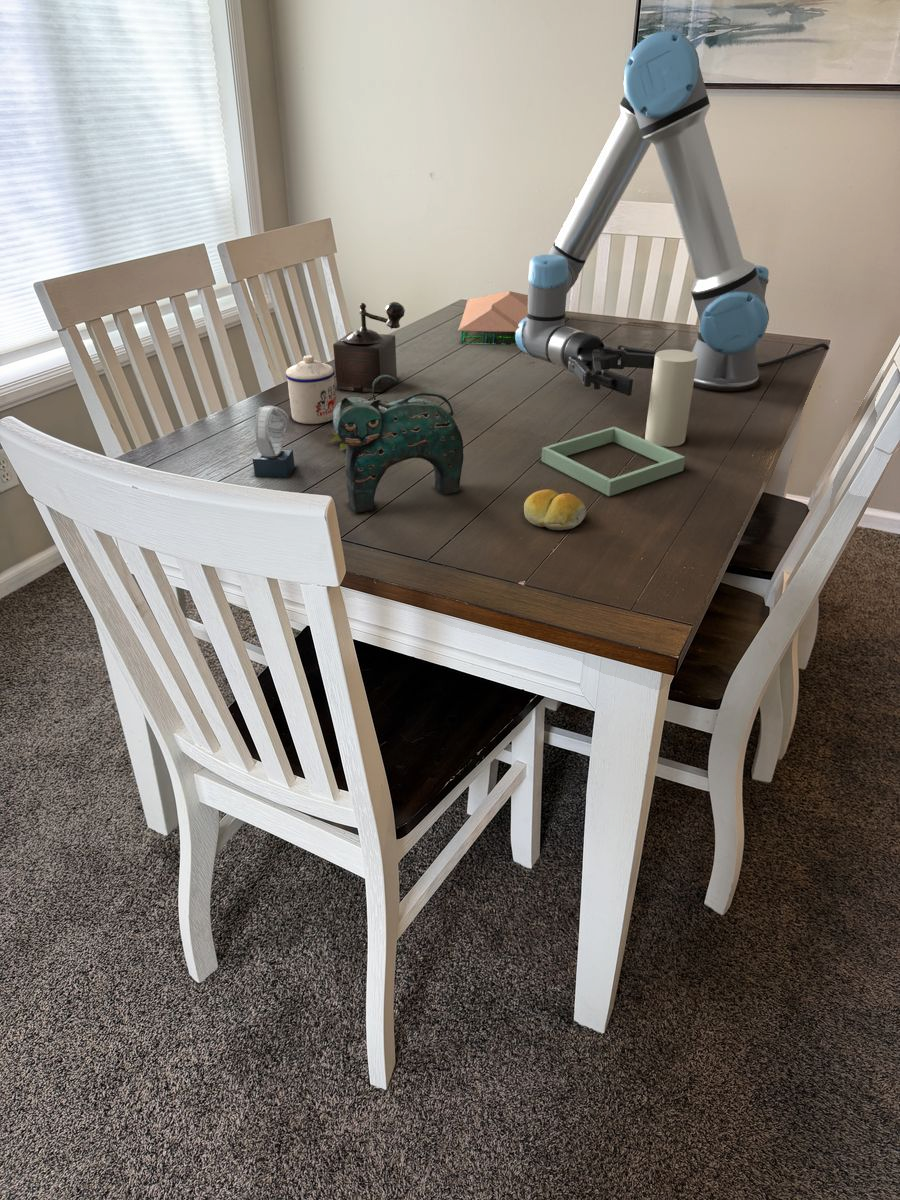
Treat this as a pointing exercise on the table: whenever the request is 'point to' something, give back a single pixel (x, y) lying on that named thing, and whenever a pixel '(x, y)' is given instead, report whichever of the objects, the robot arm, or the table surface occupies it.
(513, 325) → the house
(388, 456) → the ceramic cat
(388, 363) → the manual coffee grinder
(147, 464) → the table surface
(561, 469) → the green square frame
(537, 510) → the bread roll
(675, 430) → the pillar candle
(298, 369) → the teacup with lid
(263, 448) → the watch
